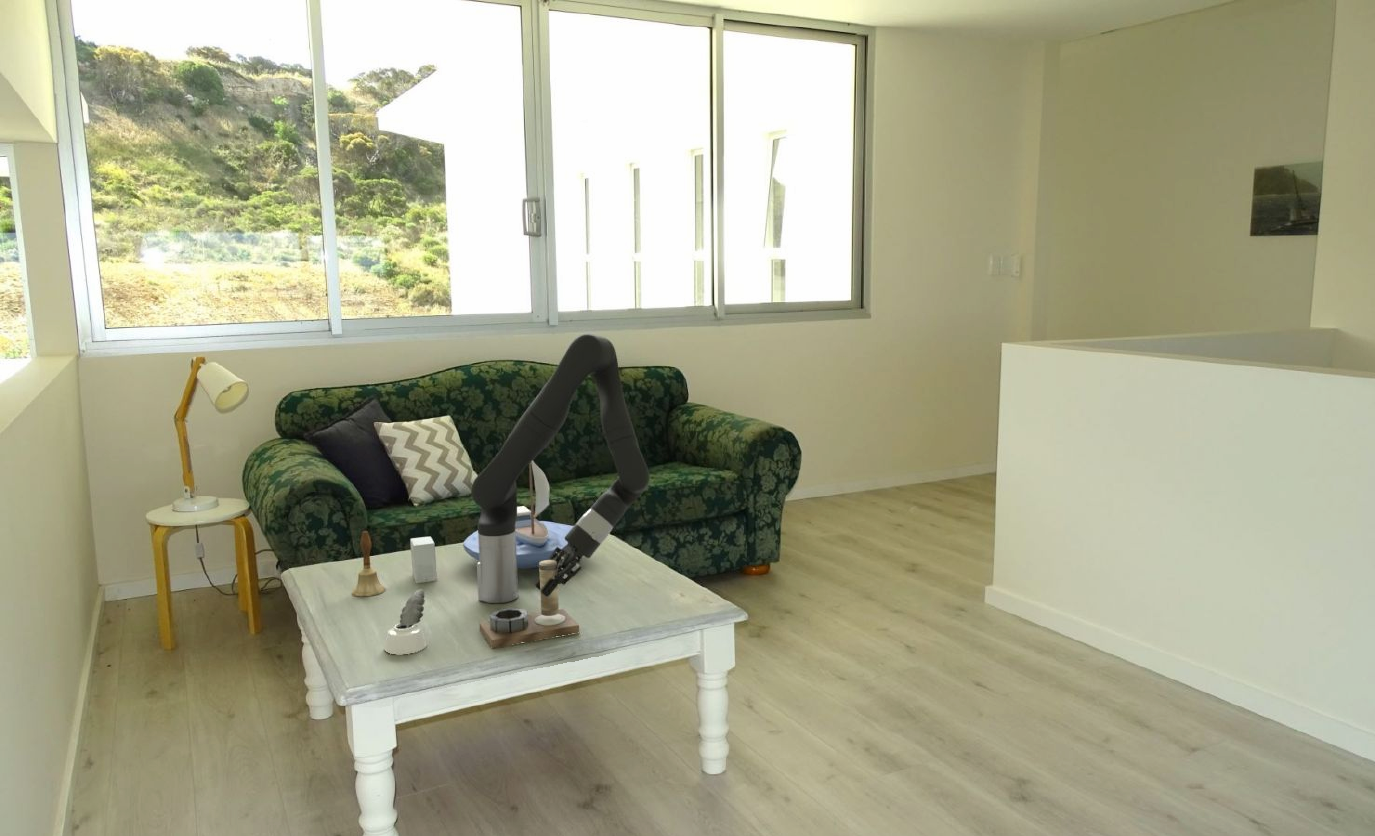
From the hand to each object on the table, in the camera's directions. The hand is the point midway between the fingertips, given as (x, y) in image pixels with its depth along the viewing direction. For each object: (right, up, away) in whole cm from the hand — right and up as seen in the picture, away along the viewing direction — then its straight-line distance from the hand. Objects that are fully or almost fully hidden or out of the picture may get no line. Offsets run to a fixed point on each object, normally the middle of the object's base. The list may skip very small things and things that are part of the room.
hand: (541, 591), depth 224 cm
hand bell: (-49, -6, +31) cm, 58 cm away
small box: (-38, -4, +41) cm, 56 cm away
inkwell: (-29, -11, -3) cm, 31 cm away
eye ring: (-7, -8, -2) cm, 11 cm away
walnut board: (-3, -9, 0) cm, 10 cm away
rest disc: (+2, -7, +2) cm, 7 cm away
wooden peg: (+2, -5, +2) cm, 6 cm away
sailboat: (-12, -2, +54) cm, 55 cm away
